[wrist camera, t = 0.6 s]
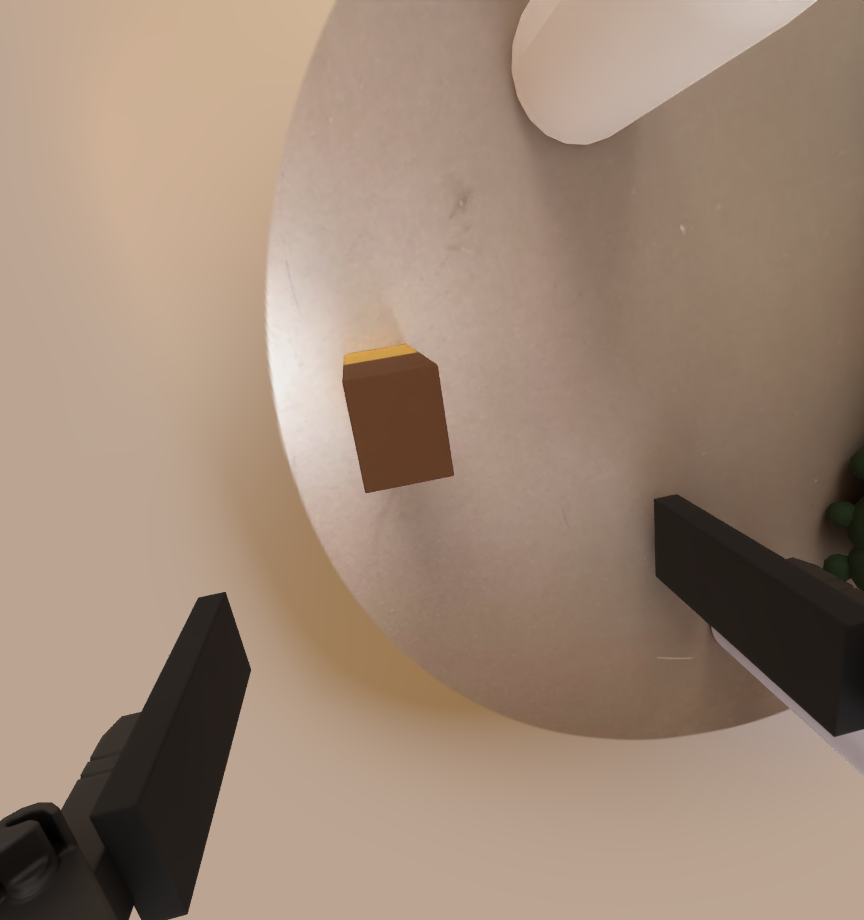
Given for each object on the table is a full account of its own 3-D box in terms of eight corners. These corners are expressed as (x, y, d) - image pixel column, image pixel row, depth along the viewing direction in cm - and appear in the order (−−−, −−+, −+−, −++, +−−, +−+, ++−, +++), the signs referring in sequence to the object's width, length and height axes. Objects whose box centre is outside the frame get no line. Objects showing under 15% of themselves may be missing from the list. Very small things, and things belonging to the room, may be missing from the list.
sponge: (359, 430, 34) (365, 493, 23) (344, 354, 33) (342, 381, 21) (419, 419, 35) (454, 475, 23) (406, 343, 33) (437, 364, 22)
